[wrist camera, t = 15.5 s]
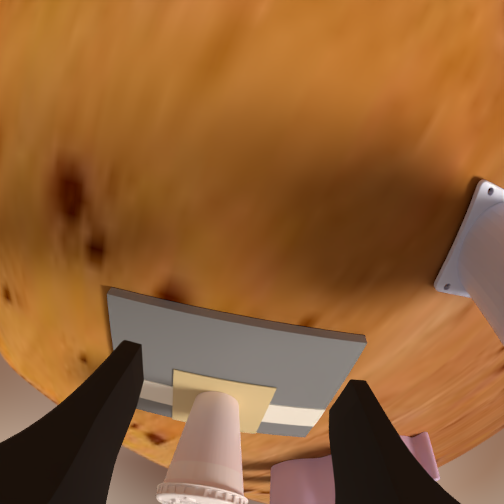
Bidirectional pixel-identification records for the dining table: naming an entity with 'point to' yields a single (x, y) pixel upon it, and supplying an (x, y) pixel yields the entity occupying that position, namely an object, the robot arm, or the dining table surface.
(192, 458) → the smoothie
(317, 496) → the clip
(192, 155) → the dining table surface
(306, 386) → the board
